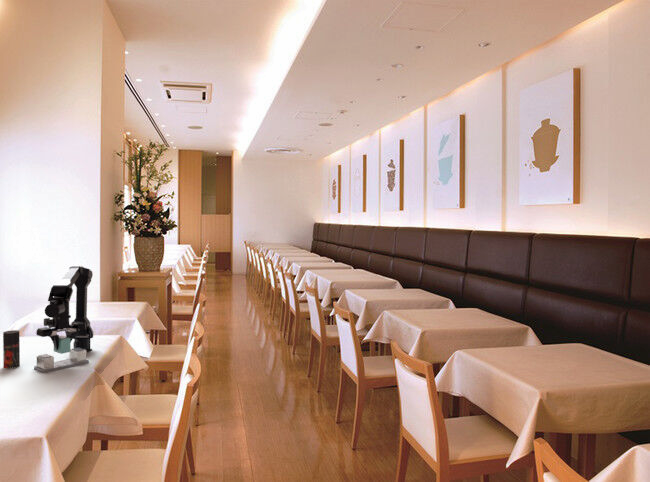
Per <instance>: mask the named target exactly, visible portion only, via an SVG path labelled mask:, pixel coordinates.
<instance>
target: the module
mask: <svg viewBox="0 0 650 482" xmlns="http://www.w3.org/2000/svg"><path fill="white" fill-rule="evenodd" d="M70 349H71V343H70V338H69V337H66V335H59V347H58V350H56V349H55V346H54V345H53V352H54V353H58V354H61V355H62V354H67V353H70V352H71V351H70Z"/></svg>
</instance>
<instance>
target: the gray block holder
mask: <svg viewBox="0 0 650 482" xmlns="http://www.w3.org/2000/svg"><path fill="white" fill-rule="evenodd" d="M70 351H71V352H69V358H67V359H63V360H58V361H55V357H54V356H53V355H50V354H47V353H44V354H40V355H36V365H34V366H33V368H34V370H37V371H39V372H41V373H44V374H45V373H49V372H53V371H57V370H63V369H66V368H71V367H76V366H80V365H85V364H89V363H90V360H88V359H87V351H86V350H85V349H82V348H74V347H73V348H70Z"/></svg>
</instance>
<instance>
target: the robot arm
mask: <svg viewBox="0 0 650 482" xmlns="http://www.w3.org/2000/svg"><path fill="white" fill-rule="evenodd" d="M93 274H94V273H93V270H91V269H90V268H87V267H84V266H82V265H70V266H69V268H68V271H67V272H66V273H65V275H64V276H63V278H61V280H59V281H57V282H55V283H54V284H53V285H52V286H51V288H50V292H49V295H48V297H47V298H48V299H47V302H49V304H48V305H46V307H45V309H44V314H45V316H47V317H45V318H43V326H44V327H40V328H37V329H36V333H35V334H36V336H38V337H41V338H45V337H49V338H50V339H51V341H52V344H53V347H54V346H55V349H56V350H58V347H59V336H60V335H59V334H58V333H60V332H64V333H65V336H66V337H69V338H70V344H71V342H72V341H73V340H74V341H73V349H74V348H82V349H85V350H86V352H89V351H90V352H91V351H93V349H92V348H91V339H93V338H94V331H93V329H92V327H91V321H90V320H89V318H88V317H87V316H88V315H87V313H88V287H89V285H90V284H91V282H92V279H93ZM73 286H75V287H76V292H75V293H76V296H75V318H74V320H73V321H72V322H71V323H70V319H71V317H72V315H70V301H71V298H72V296H73V292H74V290H73Z"/></svg>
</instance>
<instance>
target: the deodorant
mask: <svg viewBox="0 0 650 482" xmlns="http://www.w3.org/2000/svg"><path fill="white" fill-rule="evenodd" d="M20 341H21V340H20V330H13V329H12V330H6V331H3V332H2V343H3V344H2V345H3V347H2V350H3V351H2V352H3V359H2V361H3V365H2V366H3V369H16V368H18V367H20V366H21V365H20V364H21V363H20V360H21V358H20V354H21V353H20V352H21V350H20V348H21V347H20V345H21V344H20Z"/></svg>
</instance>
